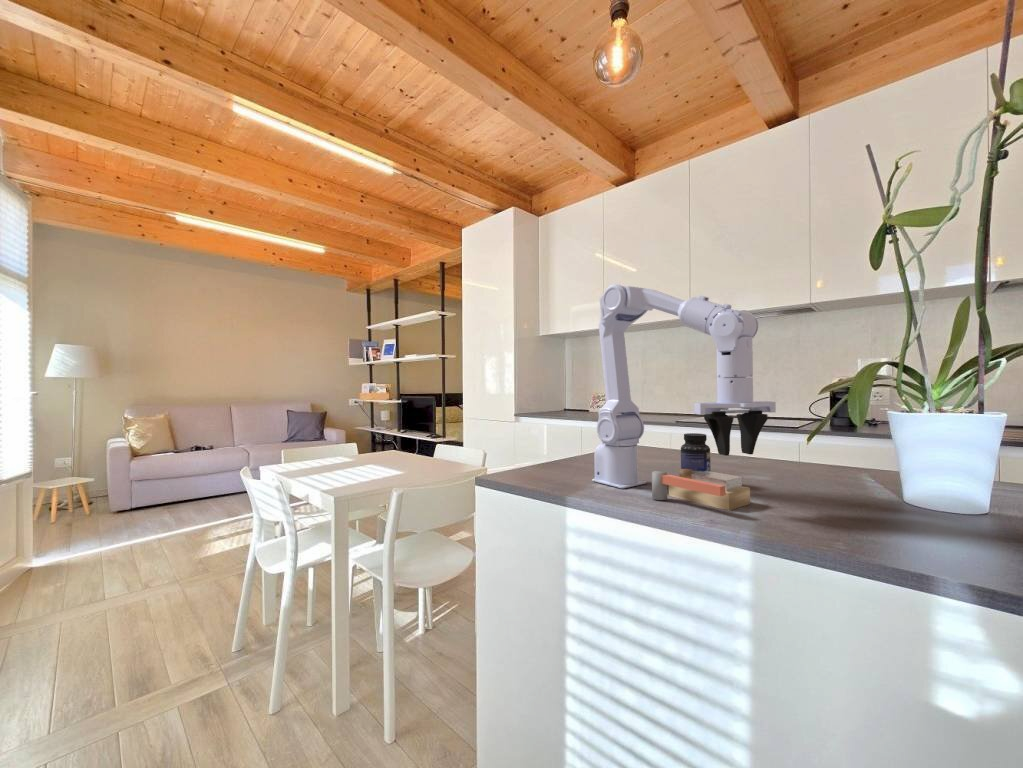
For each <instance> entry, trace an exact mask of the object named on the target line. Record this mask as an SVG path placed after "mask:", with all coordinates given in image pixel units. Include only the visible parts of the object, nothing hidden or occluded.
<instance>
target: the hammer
mask: <svg viewBox="0 0 1023 768" xmlns="http://www.w3.org/2000/svg"><path fill="white" fill-rule="evenodd" d="M669 485H671V486H675V487H680V488H684V489H689V490H693V491H698V492H702V493H707V494H711V495H716V496H724V495H726V491H725V485H719V484H714V483H709V482H704V481H699V480H694V479H689V478H684V477H680V475H679V476H678V475H674V474H670V473H669V474H668V473H667V472H666V471H660V470H659V471H658V470H653V471H652V472H651V498H652V499H653V500H656V501H666V500H668V486H669Z"/></svg>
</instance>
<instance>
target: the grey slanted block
mask: <svg viewBox="0 0 1023 768" xmlns="http://www.w3.org/2000/svg"><path fill="white" fill-rule="evenodd" d="M692 479H694V480H699V481H704V482H709V483H714V484H719V485H725V491H726V492H727V491H731V490H734V489H738V488H742V485H743V484H742V482H743V480H742V476H738V475H734V474H728V473H721V472H715V471H712V470H711V471H703V472H699V473H694V474H692Z"/></svg>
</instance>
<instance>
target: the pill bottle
mask: <svg viewBox="0 0 1023 768" xmlns="http://www.w3.org/2000/svg"><path fill="white" fill-rule="evenodd" d="M683 440H684V444H683V443H682V445H681V446H680V469H691V470H692V474H694V473H699V472H703V471H711V472H712V470H711V448H710V446H709V445H708V444H706V442H707V440H708V438H707V434H706V433H697V432H695V433H693V432H692V433H691V432H690V433H689V432H687V433H683Z"/></svg>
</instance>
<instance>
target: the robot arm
mask: <svg viewBox="0 0 1023 768" xmlns="http://www.w3.org/2000/svg"><path fill="white" fill-rule="evenodd" d="M709 299H710V297H708V296H705V295H698V297H696V296H693V297H690V298H687V299H686V300H683V299H681V298H678V297H675V296H672V295H669V294H667V293H664V292H661V291H658V290H655V289H651V288H646V287H639V286H630V285H621V284H618V283H614V284H611V285H609V286H608V287H606V289H605V290H604V292H603V293H602V295H601V296H600V297H599V306H600V307H599V309H600V318H599V322H598V323H599V324H598V331H599V342H600V350H601V351H600V352H601V362H602V373H603V380H604V381H603V383H604V391H605V393H604V394H605V403H604V404H603V405H602V407H601V408H600V409H599V410H598V412H597V413H598V420H597V425H596V433H597V437H599V439H600V441H601V442H600V443H599V444H598V445H597V446H596V448H595V449H594V454H593V455H594V456H593V457H594V462H593V463H594V478H592V479H591V481H592V482H595V483H599V484H602V485H603V484H604V485H606V486H607V485H608V486H611V487H615V488H619V489H627V488H631V487H636V486H640V485H645V484H647V481H645V480H641V479H639V478H638V475H639V473H638V471H639V468H638V444H640V439H641V438H642V437H643V435H644V432H645V425H644V421H643V419H642V417H641V414H640V409H639V408H640V407H638V406H637V405H636V404H635V403H634V402H633V401H632V399H631V398H632V396H631V389H630V388H631V387H630V378H629V377H630V376H629V370H628V369H629V367H628V358H627V349H626V340H625V338H626V337H625V331H626V330H627V329H628V328H629V327H630V326H631V325H632V324H634V323H635V322H636V321H637V320H639V319H640V318H642V317H643V316H645V314H646V313H647V312H648V311H653V310H654V309H655V310H657V311H660V312H662V313H667V314H668V315H669V314H671V315H673V316H677V317H678V319H679V322H680V323H681V325H682V326H684V327H687V328H689V329H692V330H695V331H697V332H700V333H704V334H705V335H709V336H711V338H713V340H714V342H715V349H716V401H714V402H713V401H711V402H709V401H708V402H695V403H693V405H694V406H693V411H694V412H693V413H694V415H703V419H704V421H705V422H706V423H707V426H708V427H709V429H710V431H711V433H712V436H713V439H714V442H715V445H716V449H717V452H718V455H722V456H729V455H730V451H731V433H732V427H733V426H732V425H733V422H734V419H735V418H734V417H732V416H728V414H736V415H735V416H736V418H737V422H738V426H739V432H740V448H741V453H742V454H746V455H753V454H754V451H755V447H756V444H757V442H758V441H757V440H758V437H759V435H760V434H761V431H762V429H763V428H764V426H765V424H766V423H767V421H768V418H769V416H768V414H767V413H776V409H777V408H776V407H777V404H776V403H777V402H776V401H770V400H769V401H768V400H764V401H763V400H762V401H758V400H757V401H755V400H754V372H753V371H754V363H753V361H754V358H753V357H754V356H753V355H754V354H753V353H754V352H753V338H755V336H756V335H757V333H758V331H759V321H758V319H757V318H756V316H755V315H754V314H753V313H751V312H749V311H748V310H745V309H742V310H741V309H740V310H738V309H732V305H731V304H729V303H723V304H720V303H716V302H713V301H710V300H709ZM732 409H734V410H732Z"/></svg>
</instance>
